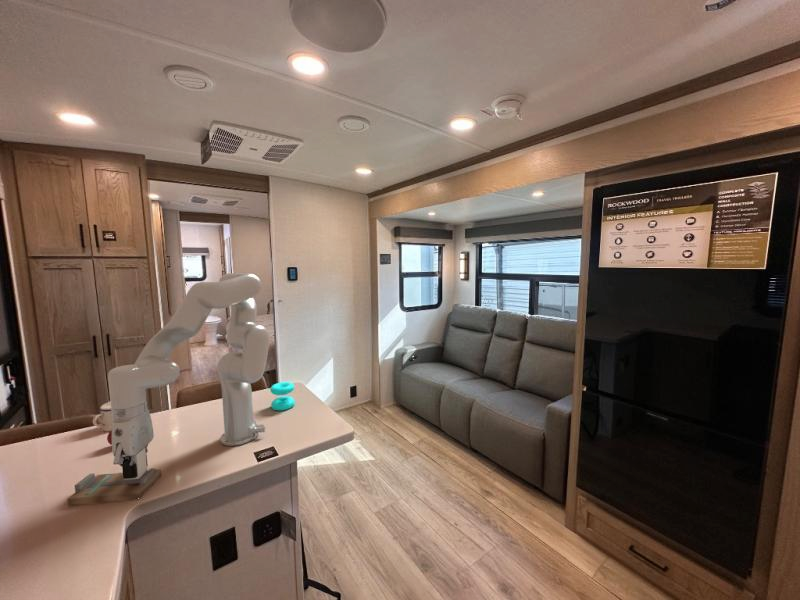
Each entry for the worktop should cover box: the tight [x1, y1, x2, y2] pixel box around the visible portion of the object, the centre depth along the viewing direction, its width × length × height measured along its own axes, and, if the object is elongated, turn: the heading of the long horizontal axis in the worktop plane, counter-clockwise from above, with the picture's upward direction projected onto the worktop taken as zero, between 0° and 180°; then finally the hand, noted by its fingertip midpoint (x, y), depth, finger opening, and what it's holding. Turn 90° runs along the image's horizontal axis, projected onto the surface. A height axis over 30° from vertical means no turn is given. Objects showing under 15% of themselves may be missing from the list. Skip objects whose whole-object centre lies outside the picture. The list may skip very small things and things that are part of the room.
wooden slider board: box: [66, 467, 162, 507], centre depth 90 cm, size 17×10×4 cm, turn 98°
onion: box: [106, 430, 112, 446], centre depth 113 cm, size 6×6×8 cm
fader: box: [125, 448, 148, 484], centre depth 90 cm, size 4×4×9 cm
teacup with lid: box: [92, 400, 113, 432], centre depth 126 cm, size 12×9×12 cm
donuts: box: [269, 381, 296, 411], centre depth 144 cm, size 10×10×10 cm
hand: (135, 472), depth 91 cm, fingers closed on fader, 3 cm apart
